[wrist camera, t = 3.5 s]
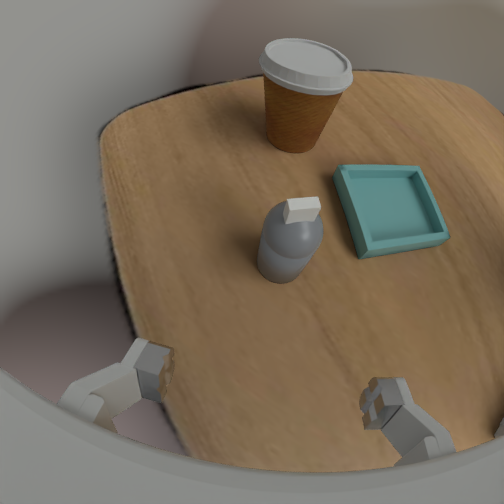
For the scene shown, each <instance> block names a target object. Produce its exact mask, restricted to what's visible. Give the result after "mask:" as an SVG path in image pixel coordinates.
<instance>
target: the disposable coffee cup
mask: <svg viewBox="0 0 504 504" xmlns="http://www.w3.org/2000/svg"><path fill="white" fill-rule="evenodd" d="M259 64H260V66H261V68H262V71H263V75H264V90H265V92H264V93H265V108H266V109H265V111H266V127H267V128H266V130H267V132H266V133H267V137H268V140H269V141H270V142H271V143H272V144H273V145H274V146H275V147H277V148H278V149H281V150H283V151H286V152H291V153H302V152H306V151H308V150H310V149H312V148H313V147H314V145H315V143H316V141H317V140H318V138H319V136H320V134H321V132H322V130H323V128H324V126H325V125H326V123H327V121H328V119H329V117H330V115H331V114H332V112H333V110H334V108H335V106H336V104H337V103H338V100H339V98H340V97H341V95H342V93H343V91H344V90H346V88H348V87H349V86H350V85H351V83H352V81H353V75H352V72H351V71H352V66H351V63H350V61H349V60H348V59H347V58H346V57H345V56H344V55H343V54H342V53H340V52H339V51H337V50H335V49H334V48H332V47H329V46H327V45H325V44H322V43H319V42H315V41H311V40H306V39H296V38H286V39H279V40H275V41H272V42H270V43H269V44H268V45H267V46H266V48H265V50H264V52H263V53H262V54H261V55H260V57H259Z"/></svg>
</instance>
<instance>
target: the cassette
mask: <svg viewBox="0 0 504 504" xmlns="http://www.w3.org/2000/svg"><path fill="white" fill-rule="evenodd" d="M502 435H504V418H503V419H502V421H501V423H500V426H499V428H498V430H497V431H496V433H495V434H494V436H495V438H498V437H500V436H502Z"/></svg>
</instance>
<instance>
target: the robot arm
mask: <svg viewBox="0 0 504 504" xmlns="http://www.w3.org/2000/svg"><path fill="white" fill-rule="evenodd" d="M173 356H174V348H173V347H169V346H166V345H162V344H159V343H156V342H152V341H149V340H145V339H142V338H139V337H138V338H137V339H136V340H135V341H134V343H133V344H132V346H131V347H130V349H129V350H128V352H127V354H126V355H125V357H124V358H123V360H122V362H121V363H115V364H113V365H110V366H108V367H106V368H104V369H102V370H99V371H97V372H95V373H92V374H90V375H88V376H86V377H83V378H81V379H79V380H76V381H74V382H72V383H71V384H70V385H69V387H68V388H67V390H66V391H65V393H64V394H63V395H62V397H61V398H60V400H59V401H58V403H57V404H55V403H53V402H52V401H50V400H48V399H46V398H45V397H43V396H42V395H40V394H38V393H37V392H35V391H34V390H32V389H31V388H29V387H27V386H26V385H24V384H23V383H22V382H20V381H18V380H17V379H16V378H14V377H13V376H12V375H10V374H9V373H7V372H6V371H5V370H4V369H2V368H1V367H0V504H504V435H502V436H500V437H498V438H495V439H493V440H490V441H488V442H485V443H483V444H480V445H477V446H474V447H471V448H469V449H466V450H462V451H459V452H456V450H455V447H454V444H453V441H452V438H451V436H450V433H449V431H448V430H446V429H445V428H444V427H443V426H442V425H441V424H439V423H438V422H437V421H436V420H435V419H434V418H432V417H431V416H430V415H429V414H428V413H427V412H426V411H424V410H423V409H422V408H421V407H420V406H419V405H417V404H414V401H413V399H412V396H411V393H410V391H409V388H408V386H407V383H406V381H405V379H404V378H403V377H394V378H392V377H373V378H372V379H371V380H370V381H369V383H368V384H369V387H367V388H366V389H364V390H363V392H362V394H361V396H360V400H359V405H360V410H361V411H362V412H363V413H364V415H363V417H362V420H363V425H364V430H380V429H382V430H381V431H382V432H383V434H384V435H385V436H386V437H387V439H388V440H389V441H390V442H391V444H392V445H393V446H394V447H395V449H396V450H397V451H398V452H399V454H400V455H401V456H402V458H401V459H400V460H399V461H398V462H396V463H395V465H394V467H387V468H380V469H371V470H361V471H347V472H287V471H273V470H262V469H253V468H246V467H239V466H232V465H226V464H220V463H215V462H210V461H205V460H201V459H196V458H192V457H188V456H184V455H180V454H176V453H173V452H169V451H166V450H162V449H159V448H156V447H153V446H150V445H146V444H144V443H141V442H138V441H135V440H133V439H130V438H127V437H124V436H122V435H119V434H117V430H116V428H115V426H114V424H113V422H112V418H114V417H115V416H117V415H118V414H120V413H121V412H123V411H124V410H126V409H127V408H129V407H130V406H132V405H133V404H135V403H136V402H138V401H139V400H141V399H142V398H146V399H149V400H152V401H156V402H159V403H162V402H163V399H164V397H165V395H166V392H167V386H166V385H168V384H169V383H170V382H171V380H172V377H173V373H174V361H173V360H172V358H173Z"/></svg>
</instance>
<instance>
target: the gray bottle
mask: <svg viewBox="0 0 504 504" xmlns="http://www.w3.org/2000/svg"><path fill="white" fill-rule="evenodd" d="M320 209H321V205H320V202H319V198H318V197H306V198H294V199H287V201H284V202H281V203H279V204H277V205H276V206H275V207H273V208H272V209H271V210H270V211H269V213H268V214H267V216H266V218H265V221H264V224H263V229H262V234H261V240H260V245H259V250H258V255H257V265H258V269H259V271H260V272H261V274H262V275H263V276H264V277H265V278H266V279H268V280H269V281H271V282H274V283H280V284H283V283H288V282H291V281H293V280H294V279H296V278H297V277H298V276H299V274H300V273H301V272H302V270H303V269H304V267H305V266H306V264H307V263H308V262H309V260H310V259H311V257H312V256H313V254H314V253H315V252H316V250H317V249H318V247H319V245H320V243H321V241H322V237H323V224H322V220H321V218H320V216H319V214H318V213H319V211H320Z"/></svg>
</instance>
